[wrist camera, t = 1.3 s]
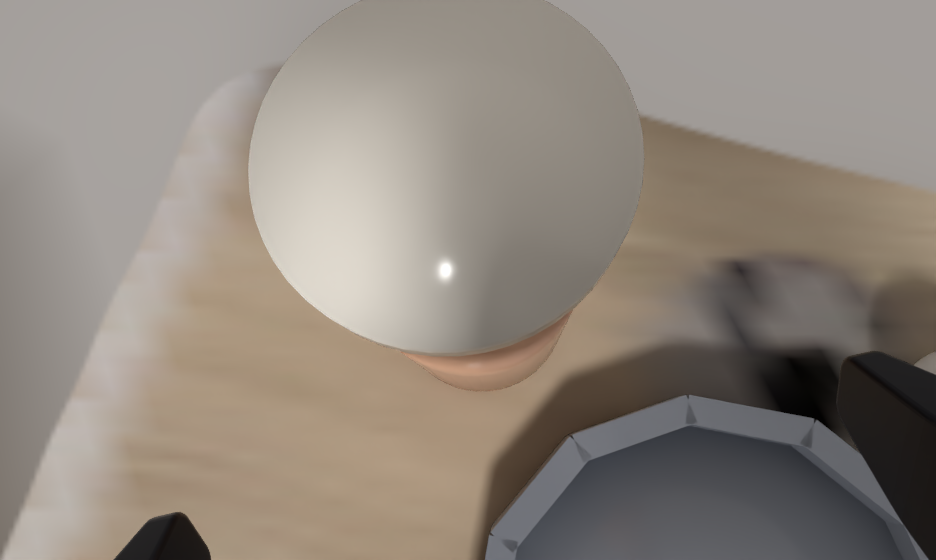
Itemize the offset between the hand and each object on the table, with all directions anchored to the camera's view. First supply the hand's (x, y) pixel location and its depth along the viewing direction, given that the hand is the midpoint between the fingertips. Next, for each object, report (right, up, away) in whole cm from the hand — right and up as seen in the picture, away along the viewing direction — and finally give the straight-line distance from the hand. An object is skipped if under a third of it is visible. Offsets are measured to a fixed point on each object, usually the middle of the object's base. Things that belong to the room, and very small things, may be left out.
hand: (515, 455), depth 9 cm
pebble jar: (0, +1, +12) cm, 12 cm away
